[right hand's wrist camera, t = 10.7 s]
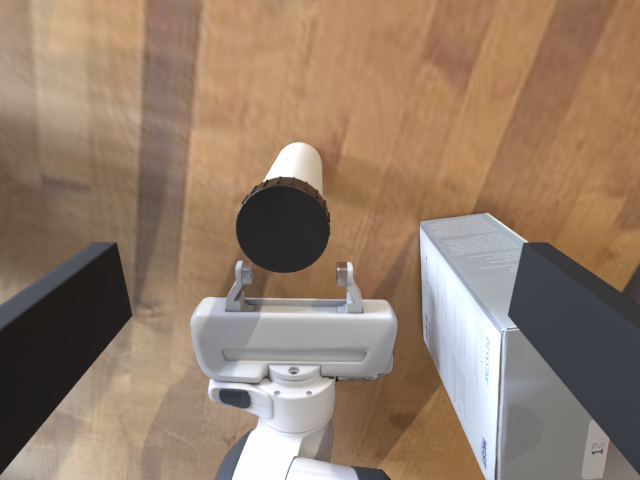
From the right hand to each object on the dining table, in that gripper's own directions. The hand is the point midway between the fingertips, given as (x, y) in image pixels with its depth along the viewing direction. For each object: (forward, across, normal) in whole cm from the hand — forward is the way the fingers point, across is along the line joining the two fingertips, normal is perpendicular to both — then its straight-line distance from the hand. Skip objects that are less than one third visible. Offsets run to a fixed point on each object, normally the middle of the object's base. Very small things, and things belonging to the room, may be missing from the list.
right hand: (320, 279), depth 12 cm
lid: (+9, +2, +2) cm, 9 cm away
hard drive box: (+27, -15, +14) cm, 34 cm away
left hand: (+21, +2, +10) cm, 23 cm away
